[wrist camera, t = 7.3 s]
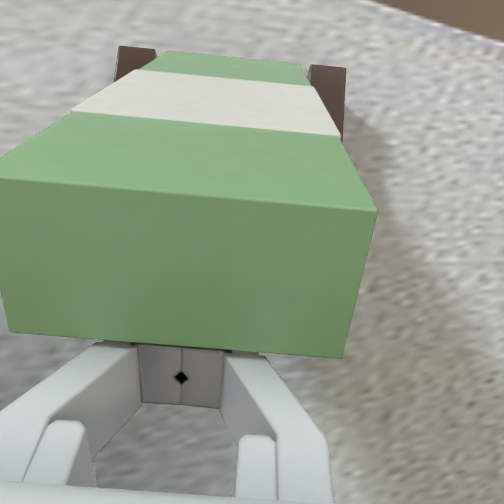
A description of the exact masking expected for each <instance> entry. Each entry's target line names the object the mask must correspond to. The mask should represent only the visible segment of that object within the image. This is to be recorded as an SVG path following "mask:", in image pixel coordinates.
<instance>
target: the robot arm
mask: <svg viewBox="0 0 504 504" xmlns="http://www.w3.org/2000/svg"><path fill="white" fill-rule="evenodd" d="M142 403H153V404H172V405H186V406H196V407H205V408H215V409H219V411H220V413H221V415H222V417H223V419H224V421H225V423H226V425H227V427H228V429H229V431H230V433H231V435H232V437H233V439H234V441H235V443H236V445H237V447H238V452H237V459H236V467H235V474H234V481H233V489H232V496H231V497H224V496H210V495H196V494H182V493H168V492H154V491H140V490H126V489H112V488H98V485H97V480H96V476H95V471H94V466H93V461H92V459H93V458H94V457H95V456H96V455H97V454H98V453H99V452H100V451H101V449H102V448H103V447H104V446H105V445H106V444H107V443H108V442H109V441H110V440H111V439H112V438H113V436H114V435H115V434H116V433H117V432H118V431H119V430H120V429H121V428H122V427H123V426H124V424H125V423H126V422H127V421H128V420H129V419H130V418H131V417H132V416H133V415H134V414H135V413H136V411H137V410H138V409H139V408H140V407H141V406H142ZM0 504H335V501H334V492H333V484H332V475H331V466H330V458H329V449H328V440H327V438H326V436H325V435H324V434H323V433H322V431H321V430H320V429H319V427H318V426H317V425H316V423H315V422H314V421H313V419H312V418H311V417H310V415H309V414H308V413H307V411H306V410H305V409H304V407H303V406H302V405H301V403H300V402H299V401H298V399H297V398H296V397H295V395H294V394H293V393H292V391H291V390H290V389H289V387H288V386H287V385H286V383H285V382H284V381H283V379H282V378H281V377H280V375H279V374H278V373H277V371H276V370H275V369H274V367H273V366H272V365H271V363H270V362H269V361H268V359H267V358H266V357H265V356H258V352H251V351H238V350H226V349H213V348H201V347H188V346H175V345H163V344H150V343H137V342H125V341H112V340H104V341H103V343H100V342H96V343H94V344H93V345H91V346H90V347H89V348H87V349H86V350H84V351H83V352H82V353H80V354H79V355H77V356H76V357H75V358H73V359H72V360H70V361H69V362H68V363H66V364H65V365H64V366H62V367H61V368H59V369H58V370H57V371H55V372H54V373H52V374H51V375H50V376H48V377H47V378H45V379H44V380H43V381H41V382H40V383H38V384H37V385H36V386H34V387H33V388H32V389H30V390H29V391H27V392H26V393H25V394H23V395H22V396H20V397H19V398H18V399H16V400H15V401H13V402H12V403H11V404H9V405H8V406H6V407H5V408H4V409H2V410H1V411H0Z"/></svg>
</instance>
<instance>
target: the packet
mask: <svg viewBox="0 0 504 504" xmlns="http://www.w3.org/2000/svg"><path fill="white" fill-rule="evenodd" d="M340 139H341V134H340V132H339V131H338V129H337V127H336V125H335V124H334V122H333V120H332V118H331V116H330V115H329V113H328V111H327V109H326V107H325V106H324V104H323V102H322V100H321V99H320V97H319V95H318V93H317V91H316V90H315V88H314V87H313V86H311V84H310V83H309V81H308V79H307V77H306V75H305V73H304V71H303V69H302V68H301V66H300V64H298V63H288V62H277V61H267V60H257V59H247V58H237V57H227V56H216V55H206V54H196V53H186V52H176V51H167V52H165V53H164V54H162V55H161V56H159V57H158V58H156V59H154V60H153V61H151V62H150V63H148V64H147V65H145V66H143V67H142V68H140V69H139V70H138V69H135V70H133V71H132V72H130V73H128V74H127V75H125V76H124V77H122V78H120V79H119V80H117V81H116V82H114V83H112V84H111V85H109V86H107V87H106V88H104V89H103V90H101V91H99V92H98V93H96V94H95V95H93V96H91V97H90V98H88V99H86V100H85V101H83V102H82V103H80V104H78V105H77V106H75V107H73V108H72V109H71V113H70V114H68V115H66V116H65V117H63V118H62V119H60V120H59V121H57V122H55V123H54V124H52V125H51V126H49V127H48V128H46V129H44V130H43V131H41V132H40V133H38V134H37V135H35V136H34V137H32V138H30V139H29V140H27V141H26V142H24V143H23V144H21V145H19V146H18V147H16V148H15V149H13V150H12V151H10V152H8V153H7V154H5V155H4V156H2V157H1V158H0V292H1V296H2V300H3V305H4V309H5V314H6V318H7V323H8V327H9V331H10V332H12V333H24V334H37V335H49V336H62V337H74V338H87V339H100V340H112V341H125V342H137V343H150V344H163V345H175V346H188V347H201V348H213V349H226V350H238V351H251V352H264V353H276V354H289V355H301V356H314V357H327V358H341V357H342V355H343V351H344V347H345V343H346V339H347V335H348V331H349V327H350V323H351V319H352V315H353V311H354V307H355V302H356V298H357V294H358V290H359V286H360V282H361V278H362V274H363V270H364V266H365V262H366V258H367V254H368V250H369V246H370V242H371V238H372V234H373V230H374V226H375V222H376V218H377V214H378V209H377V207H376V205H375V203H374V202H373V200H372V198H371V196H370V194H369V192H368V190H367V189H366V187H365V185H364V183H363V181H362V179H361V177H360V176H359V174H358V172H357V170H356V168H355V166H354V164H353V163H352V161H351V159H350V157H349V155H348V153H347V151H346V149H345V148H344V146H343V144H342V142H341V140H340Z"/></svg>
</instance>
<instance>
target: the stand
mask: <svg viewBox="0 0 504 504" xmlns="http://www.w3.org/2000/svg"><path fill="white" fill-rule="evenodd" d="M156 58H157V55H156V51H155V49H148V48H138V47H127V46H119V48H118V55H117V63H116V70H115V78H114V82H116V81H117V80H119V79H120V78H122V77H124V76H125V75H127V74H128V73H130V72H132V71H133V70H135V69H138V70H139V69H140V68H142V67H143V66H145V65H147V64H148V63H150V62H151V61H153V60H154V59H156ZM307 79H308V81H309V83H310V84H311V86H313V87H314V88H315V90H316V91H317V93H318V95H319V97H320V99H321V100H322V102H323V104H324V106H325V107H326V109H327V111H328V113H329V115H330V116H331V118H332V120H333V122H334V124H335V125H336V127H337V129H338V131H339V132H340V134H341V139H340V140H341V142H342V139H343V120H344V101H345V83H346V68H343V67H333V66H322V65H312V64H311V65H310V68H309V71H308V75H307Z"/></svg>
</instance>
